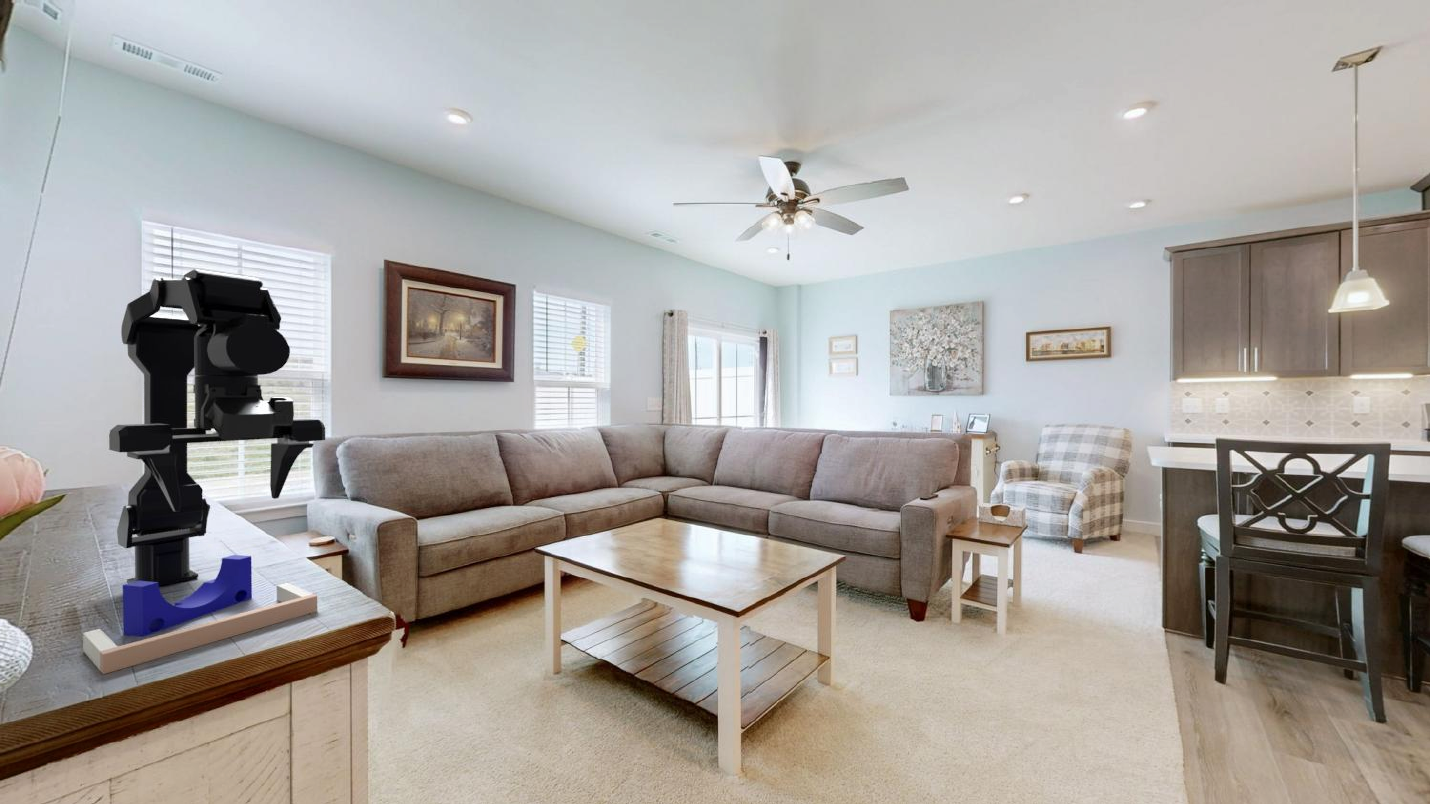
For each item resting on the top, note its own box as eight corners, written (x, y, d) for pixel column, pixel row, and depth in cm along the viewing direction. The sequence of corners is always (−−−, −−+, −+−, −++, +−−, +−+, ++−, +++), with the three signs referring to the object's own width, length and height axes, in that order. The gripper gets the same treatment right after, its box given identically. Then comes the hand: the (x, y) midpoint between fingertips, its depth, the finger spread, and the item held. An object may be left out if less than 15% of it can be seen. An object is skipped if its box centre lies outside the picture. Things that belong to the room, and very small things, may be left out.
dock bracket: (83, 651, 58) (83, 632, 58) (287, 597, 74) (287, 582, 74) (103, 674, 53) (102, 654, 53) (317, 611, 69) (317, 595, 69)
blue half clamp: (225, 597, 74) (225, 554, 74) (251, 599, 74) (251, 556, 74) (113, 635, 63) (112, 584, 63) (143, 638, 62) (142, 586, 62)
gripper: (130, 372, 53) (133, 529, 53) (343, 377, 69) (344, 498, 69) (107, 375, 59) (109, 515, 59) (307, 379, 75) (308, 490, 75)
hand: (228, 504), depth 65 cm, fingers open, 9 cm apart
